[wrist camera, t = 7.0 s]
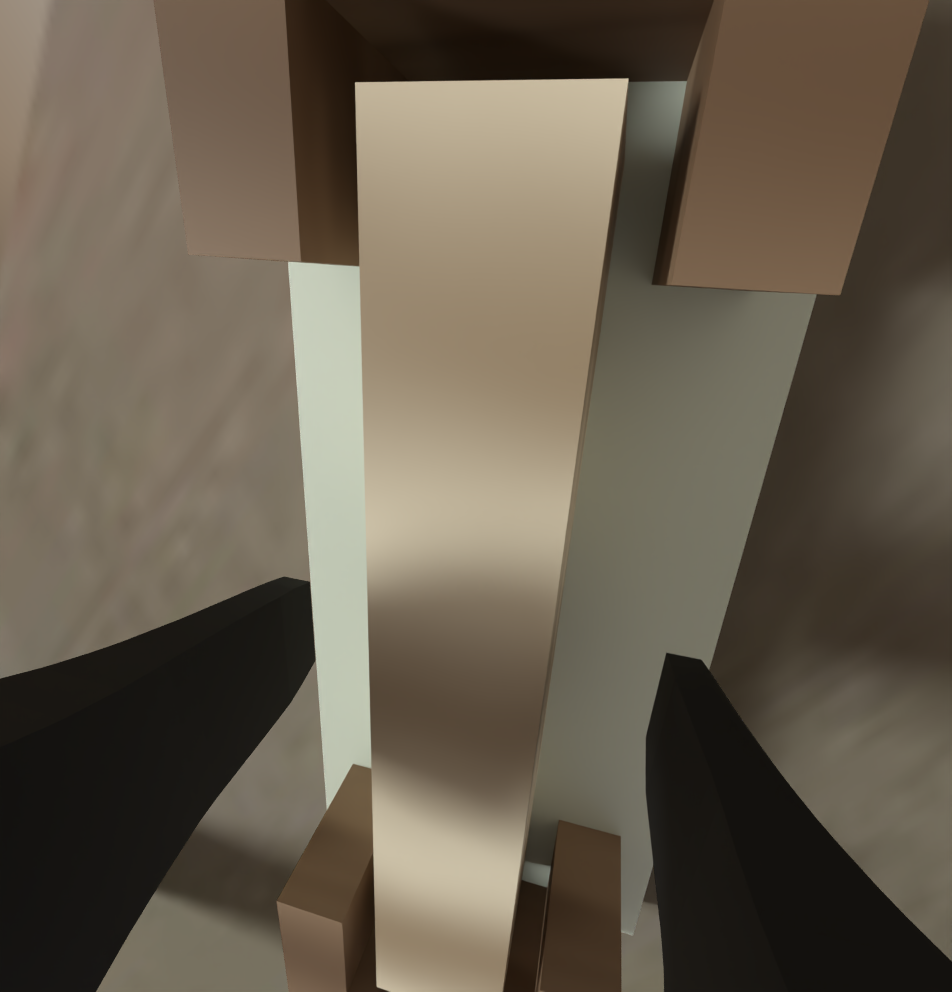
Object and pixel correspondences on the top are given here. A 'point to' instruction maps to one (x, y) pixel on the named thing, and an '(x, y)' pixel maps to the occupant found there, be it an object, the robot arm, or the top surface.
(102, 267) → the top surface
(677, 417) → the base board
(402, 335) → the slat
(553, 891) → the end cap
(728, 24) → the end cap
